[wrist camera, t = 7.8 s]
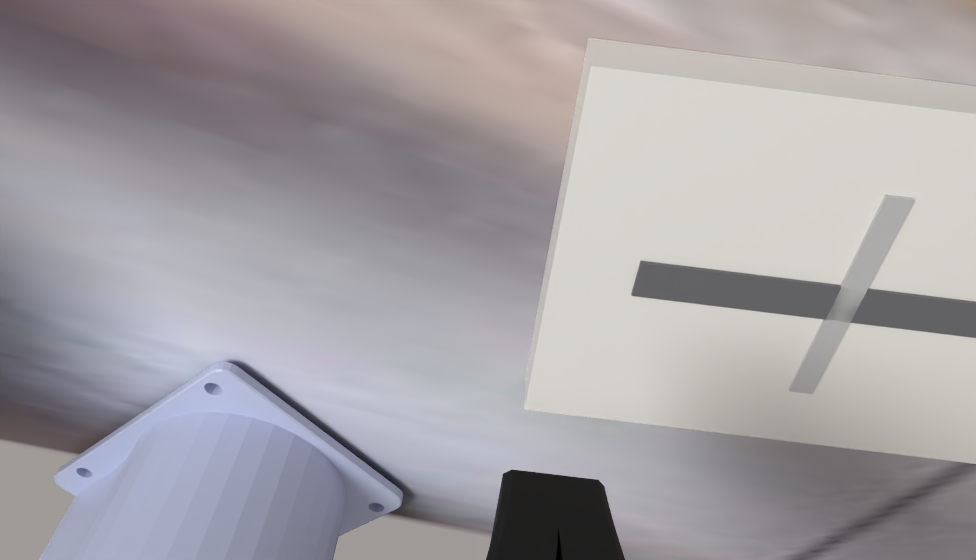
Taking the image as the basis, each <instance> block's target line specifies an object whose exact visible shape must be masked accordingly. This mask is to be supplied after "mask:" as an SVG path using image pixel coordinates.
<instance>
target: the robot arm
mask: <svg viewBox="0 0 976 560" xmlns="http://www.w3.org/2000/svg"><path fill="white" fill-rule="evenodd" d="M213 383H215V384H217V385H215V384H213ZM54 480H55V482H56V483H57V485H58V486H60V487H61V488H63V489H64V490H66V491H68V492H69V493H71V494H73V495H75V496H76V497H75V499H74V500H73V502H72V504H71V506H70V507H69V509H68V511H67V513H66V514H65V516H64V518H63V520H62V521H61V523H60V525H59V526H58V528H57V530H56V531H55V533H54V535H53V537H52V538H51V540H50V542H49V543H48V545H47V547H46V549H45V551H44V552H43V554H42V555H41V557H40V559H39V560H333V556H334V552H335V548H336V544H337V540H338V536H340V535H342V534H344V533H346V532H348V531H350V530H353V529H355V528H357V527H359V526H361V525H363V524H366V523H368V522H370V521H372V520H374V519H376V518H378V517H381V516H383V515H385V514H387V513H389V512H391V511H393V510H396V509H398V508H399V507H400V506H401V504H402V499H403V493H402V491H401V490H400V489H399V488H398V487H396V486H395V485H394V484H392V483H391V482H390V481H388V480H387V479H386V478H385V477H383V476H382V475H381V474H379V473H378V472H377V471H375V470H374V469H373V468H371V467H370V466H369V465H367V464H366V463H365V462H363V461H362V460H361V459H359V458H358V457H357V456H355V455H354V454H353V453H351V452H350V451H349V450H348V449H346V448H345V447H344V446H342V445H341V444H340V443H338V442H337V441H336V440H334V439H333V438H332V437H330V436H329V435H328V434H326V433H325V432H324V431H322V430H321V429H320V428H318V427H317V426H316V425H314V424H313V423H312V422H311V421H309V420H308V419H307V418H305V417H304V416H303V415H301V414H300V413H299V412H297V411H296V410H295V409H293V408H292V407H291V406H289V405H288V404H287V403H285V402H284V401H283V400H281V399H280V398H279V397H277V396H276V395H275V394H273V393H272V392H271V391H270V390H268V389H267V388H266V387H264V386H263V385H262V384H260V383H259V382H258V381H256V380H255V379H254V378H252V377H251V376H250V375H248V374H247V373H246V372H244V371H243V370H242V369H240V368H239V367H238V366H236V365H234V364H233V363H229V362H218V363H216V364H214V365H212V366H211V367H209V368H208V369H206V370H205V371H203V372H202V373H200V374H199V375H197V376H196V377H194V378H193V379H191V380H190V381H188V382H187V383H185V384H184V385H182V386H181V387H179V388H178V389H176V390H175V391H173V392H172V393H170V394H169V395H167V396H166V397H164V398H163V399H161V400H160V401H159V402H157V403H156V404H154V405H153V406H151V407H150V408H148V409H147V410H145V411H144V412H142V413H141V414H139V415H138V416H136V417H135V418H133V419H132V420H130V421H129V422H127V423H126V424H124V425H123V426H121V427H120V428H118V429H117V430H115V431H114V432H112V433H111V434H109V435H108V436H106V437H105V438H103V439H102V440H101V441H99V442H98V443H96V444H95V445H93V446H92V447H90V448H89V449H87V450H86V451H84V452H83V453H81V454H80V455H78V456H77V457H75V458H74V459H72V460H71V461H69V462H68V463H66V464H65V465H63V466H62V467H61V468H60V469H59V470H58V472H57V473H56V475H55V477H54ZM486 560H625V558H624V555H623V552H622V549H621V546H620V543H619V539H618V536H617V533H616V530H615V526H614V523H613V519H612V516H611V512H610V508H609V505H608V501H607V496H606V492H605V488H604V486H603V484H602V483H601V482H600V481H599V480H594V479H586V478H577V477H569V476H561V475H552V474H544V473H536V472H527V471H519V470H510V471H508V472H506V473H504V474H503V478H502V483H501V488H500V494H499V499H498V505H497V510H496V516H495V521H494V527H493V532H492V538H491V544H490V548H489V551H488V555H487V558H486Z"/></svg>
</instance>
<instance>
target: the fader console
mask: <svg viewBox="0 0 976 560" xmlns="http://www.w3.org/2000/svg"><path fill="white" fill-rule="evenodd" d="M524 410H532V411H541V412H549V413H557V414H566V415H574V416H582V417H590V418H599V419H607V420H615V421H624V422H632V423H640V424H649V425H657V426H665V427H673V428H682V429H690V430H698V431H707V432H715V433H723V434H732V435H740V436H748V437H756V438H765V439H773V440H781V441H790V442H798V443H806V444H815V445H823V446H831V447H839V448H848V449H856V450H864V451H873V452H881V453H889V454H898V455H906V456H914V457H922V458H931V459H939V460H947V461H956V462H964V463H972V464H976V86H970V85H962V84H954V83H946V82H938V81H930V80H922V79H914V78H906V77H898V76H890V75H882V74H874V73H866V72H858V71H850V70H842V69H834V68H826V67H818V66H810V65H803V64H795V63H787V62H779V61H771V60H763V59H755V58H747V57H739V56H731V55H723V54H715V53H707V52H699V51H691V50H683V49H675V48H667V47H659V46H651V45H643V44H635V43H627V42H620V41H612V40H604V39H596V38H588V42H587V47H586V53H585V58H584V63H583V69H582V74H581V79H580V85H579V90H578V95H577V101H576V106H575V111H574V117H573V122H572V127H571V133H570V138H569V143H568V149H567V154H566V160H565V165H564V170H563V176H562V181H561V186H560V192H559V197H558V202H557V208H556V213H555V218H554V224H553V229H552V234H551V240H550V245H549V250H548V256H547V261H546V266H545V272H544V277H543V282H542V288H541V293H540V298H539V304H538V309H537V314H536V320H535V325H534V330H533V336H532V341H531V346H530V352H529V357H528V362H527V368H526V381H525V405H524Z"/></svg>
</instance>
